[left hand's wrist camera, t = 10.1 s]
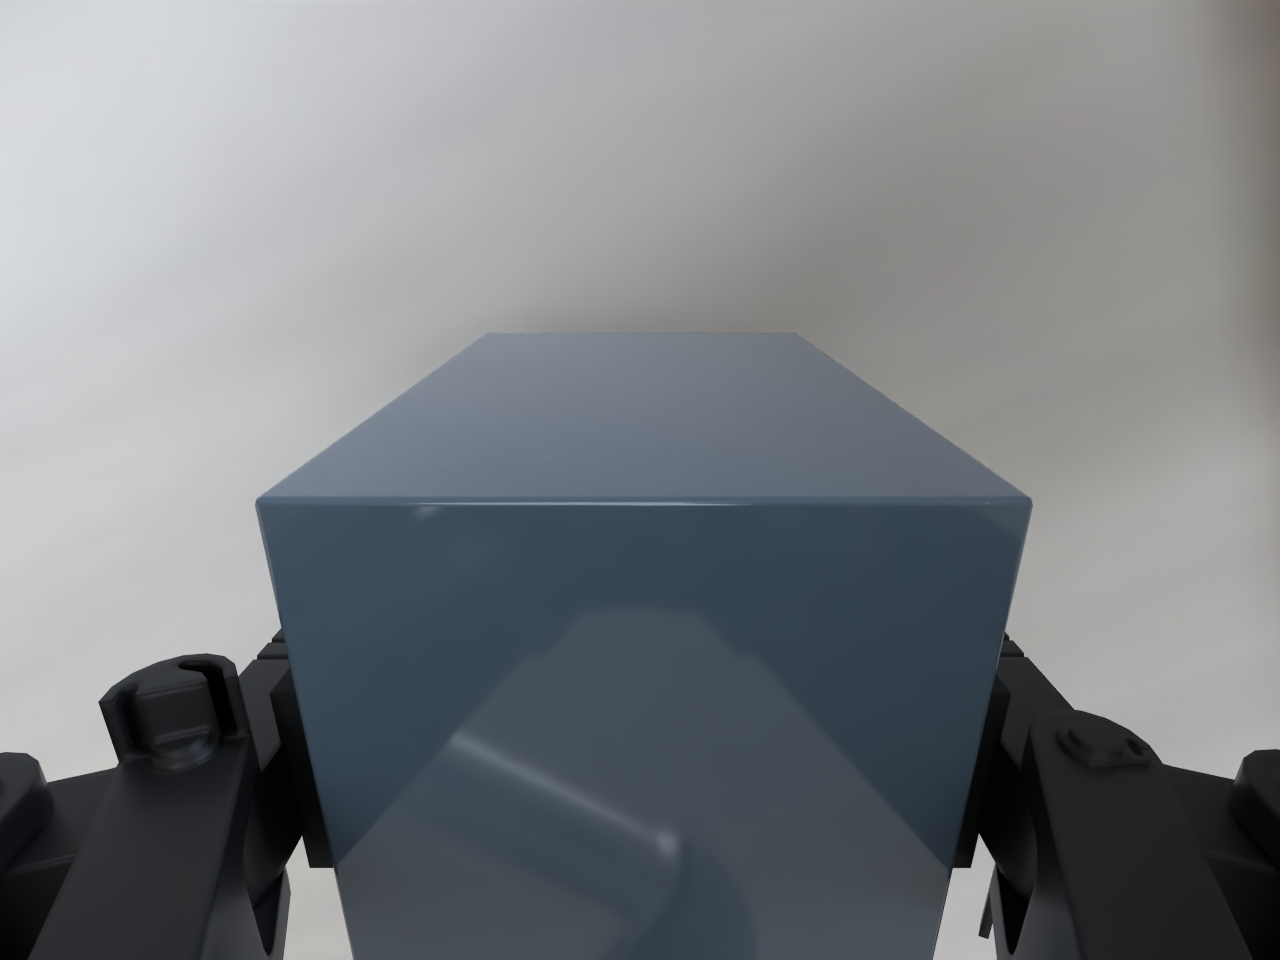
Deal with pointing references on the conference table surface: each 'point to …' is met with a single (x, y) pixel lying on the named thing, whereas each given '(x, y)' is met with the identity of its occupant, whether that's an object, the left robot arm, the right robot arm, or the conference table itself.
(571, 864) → the block
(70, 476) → the conference table surface
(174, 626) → the conference table surface
